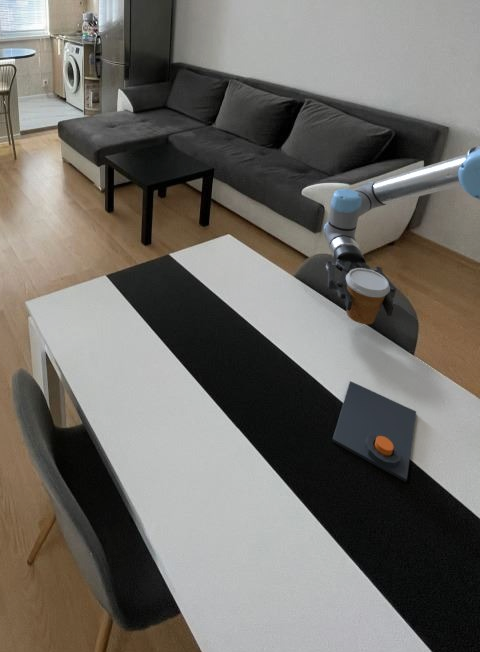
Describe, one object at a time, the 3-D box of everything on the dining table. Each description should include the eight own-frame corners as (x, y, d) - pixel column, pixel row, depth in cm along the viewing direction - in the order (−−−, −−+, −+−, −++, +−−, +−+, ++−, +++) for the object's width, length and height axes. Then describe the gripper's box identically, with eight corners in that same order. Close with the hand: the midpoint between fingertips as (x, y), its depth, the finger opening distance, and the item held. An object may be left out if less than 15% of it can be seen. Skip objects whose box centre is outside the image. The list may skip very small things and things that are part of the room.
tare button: (375, 438, 90) (377, 432, 90) (393, 447, 88) (394, 441, 88) (373, 449, 88) (374, 444, 88) (390, 459, 86) (392, 453, 86)
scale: (348, 386, 105) (351, 376, 104) (414, 417, 97) (417, 406, 96) (331, 444, 93) (333, 433, 91) (404, 485, 85) (408, 474, 83)
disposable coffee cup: (333, 315, 113) (340, 279, 109) (346, 298, 119) (354, 262, 115) (374, 335, 106) (384, 297, 102) (386, 315, 112) (396, 278, 108)
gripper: (386, 270, 124) (416, 328, 104) (306, 261, 131) (320, 313, 111) (391, 249, 122) (423, 303, 102) (309, 240, 128) (324, 290, 108)
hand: (369, 308), depth 106 cm, fingers closed on disposable coffee cup, 8 cm apart
